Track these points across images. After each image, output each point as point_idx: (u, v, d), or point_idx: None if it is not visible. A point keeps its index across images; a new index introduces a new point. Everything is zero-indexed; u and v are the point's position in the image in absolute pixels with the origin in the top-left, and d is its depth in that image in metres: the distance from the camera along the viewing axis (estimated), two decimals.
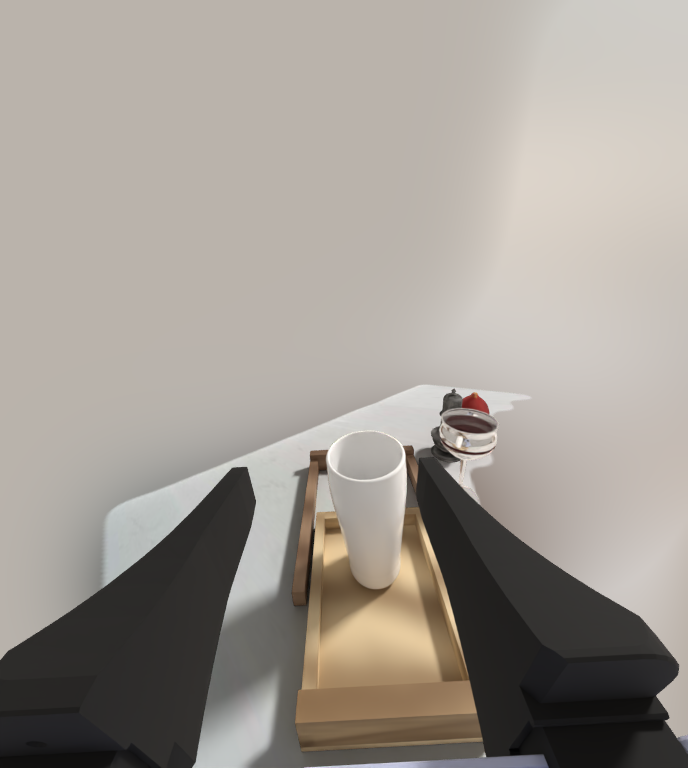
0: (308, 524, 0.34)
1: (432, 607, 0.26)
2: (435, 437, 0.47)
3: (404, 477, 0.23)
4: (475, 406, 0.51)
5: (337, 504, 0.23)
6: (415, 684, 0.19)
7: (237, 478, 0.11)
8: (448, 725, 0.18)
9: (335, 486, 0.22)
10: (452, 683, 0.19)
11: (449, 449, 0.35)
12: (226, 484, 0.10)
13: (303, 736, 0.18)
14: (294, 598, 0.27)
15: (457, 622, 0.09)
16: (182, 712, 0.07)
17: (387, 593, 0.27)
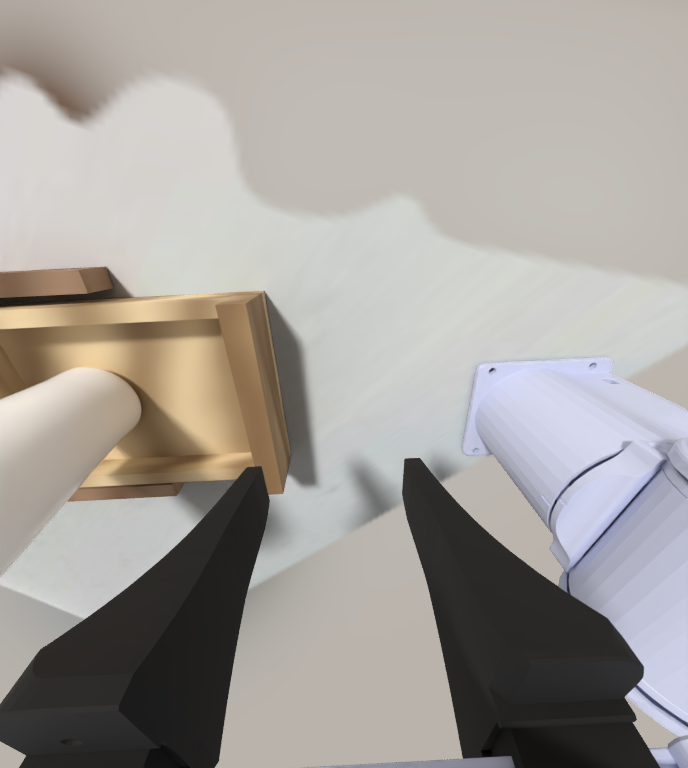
0: None
1: (140, 327, 0.18)
2: None
3: None
4: None
5: None
6: (238, 396, 0.16)
7: (253, 477, 0.11)
8: (263, 356, 0.17)
9: None
10: (229, 356, 0.15)
11: None
12: (242, 483, 0.10)
13: (286, 471, 0.21)
14: (181, 485, 0.23)
15: (438, 624, 0.09)
16: (207, 711, 0.07)
17: (141, 384, 0.19)
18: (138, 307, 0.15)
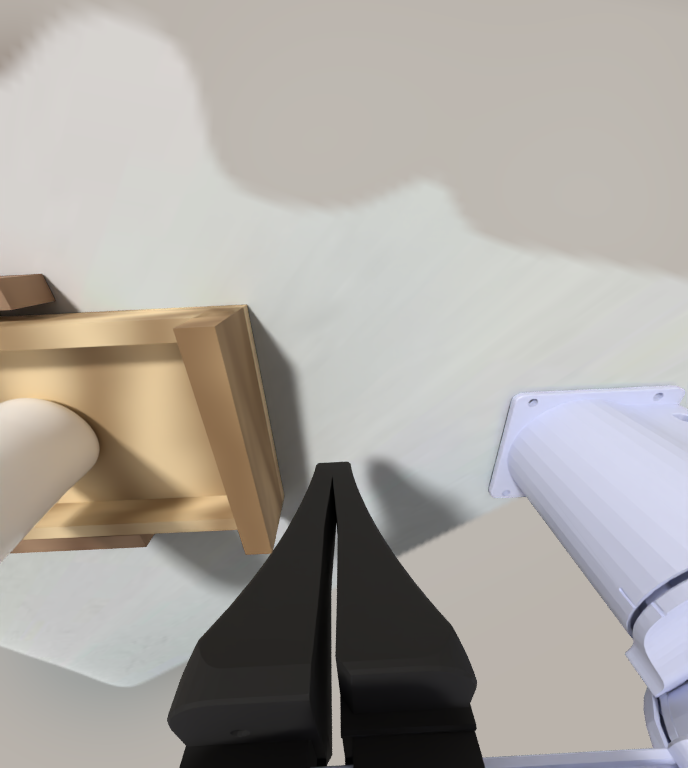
0: (22, 544, 0.18)
1: (90, 350, 0.14)
2: None
3: None
4: None
5: None
6: (210, 443, 0.12)
7: (330, 473, 0.11)
8: (244, 389, 0.13)
9: None
10: (196, 394, 0.11)
11: None
12: (323, 479, 0.10)
13: (277, 520, 0.17)
14: None
15: None
16: (327, 704, 0.07)
17: (97, 418, 0.16)
18: (77, 328, 0.12)
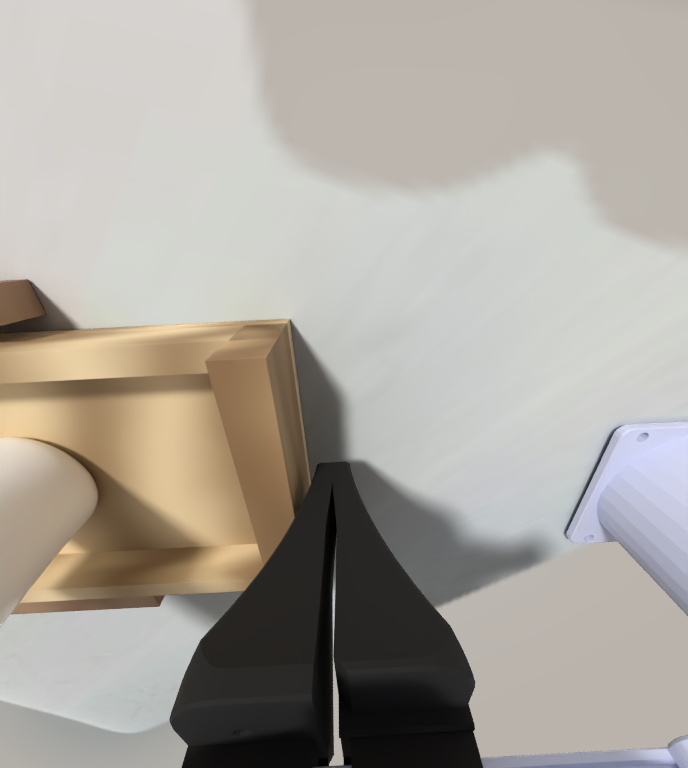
0: None
1: None
2: None
3: None
4: None
5: None
6: (247, 506, 0.09)
7: (331, 473, 0.11)
8: (290, 432, 0.10)
9: None
10: (232, 447, 0.08)
11: None
12: (324, 479, 0.10)
13: None
14: None
15: None
16: (329, 704, 0.07)
17: (94, 460, 0.12)
18: (67, 355, 0.08)
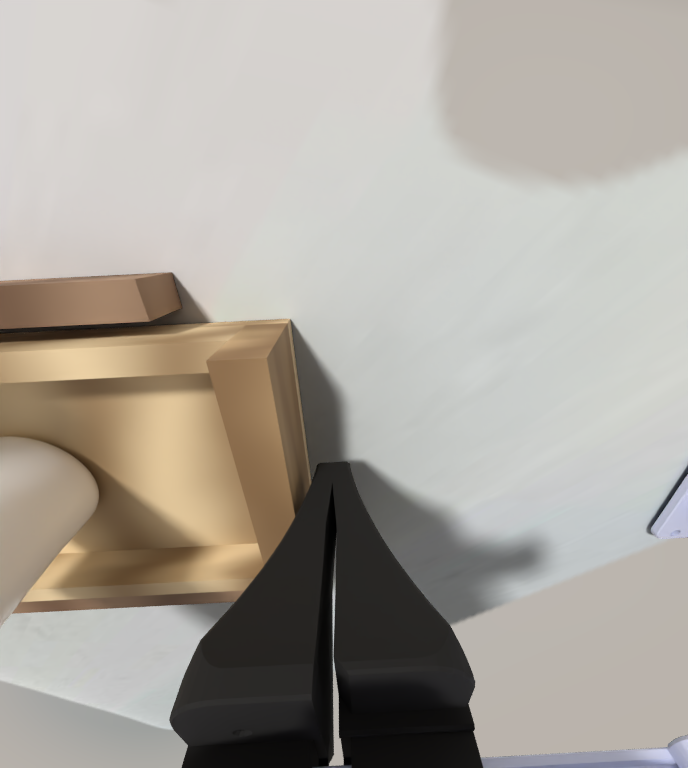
0: (102, 599, 0.15)
1: None
2: None
3: None
4: None
5: None
6: (248, 505, 0.09)
7: (331, 473, 0.11)
8: (291, 432, 0.10)
9: None
10: (233, 447, 0.08)
11: None
12: (324, 479, 0.10)
13: None
14: None
15: None
16: (329, 704, 0.07)
17: (95, 459, 0.12)
18: (69, 355, 0.08)
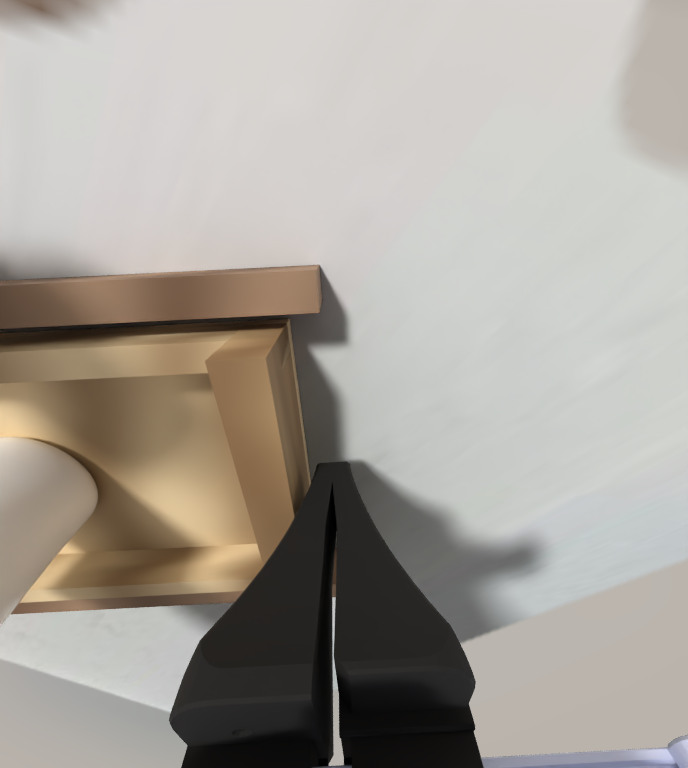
0: (197, 595, 0.15)
1: None
2: None
3: None
4: None
5: None
6: (247, 506, 0.09)
7: (331, 473, 0.11)
8: (291, 432, 0.10)
9: None
10: (232, 447, 0.08)
11: None
12: (323, 479, 0.10)
13: None
14: None
15: None
16: (329, 704, 0.07)
17: (94, 459, 0.12)
18: (68, 355, 0.08)
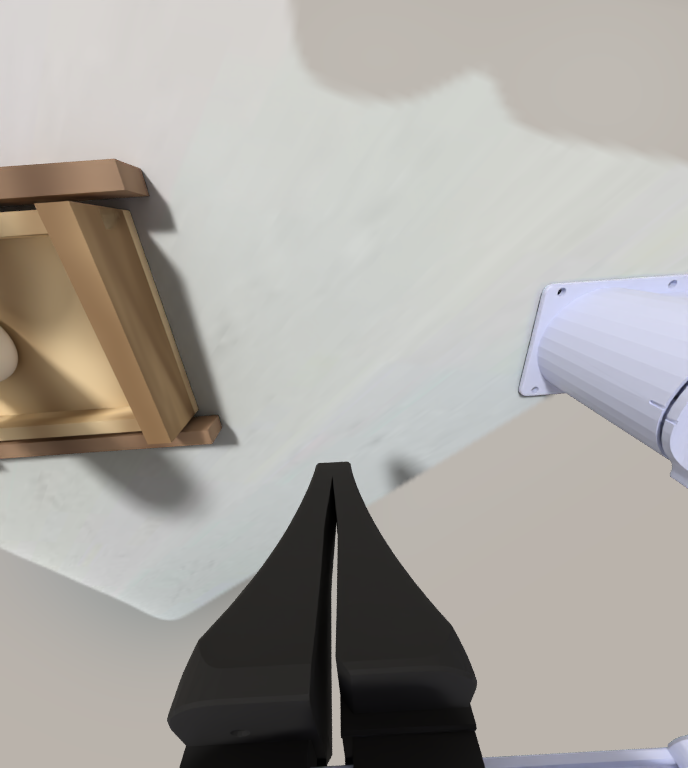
0: (102, 441, 0.20)
1: None
2: None
3: None
4: None
5: None
6: (90, 321, 0.14)
7: (330, 473, 0.11)
8: (122, 278, 0.15)
9: None
10: (67, 270, 0.13)
11: None
12: (323, 479, 0.10)
13: (183, 422, 0.19)
14: (216, 434, 0.21)
15: None
16: (327, 704, 0.07)
17: (12, 325, 0.18)
18: None
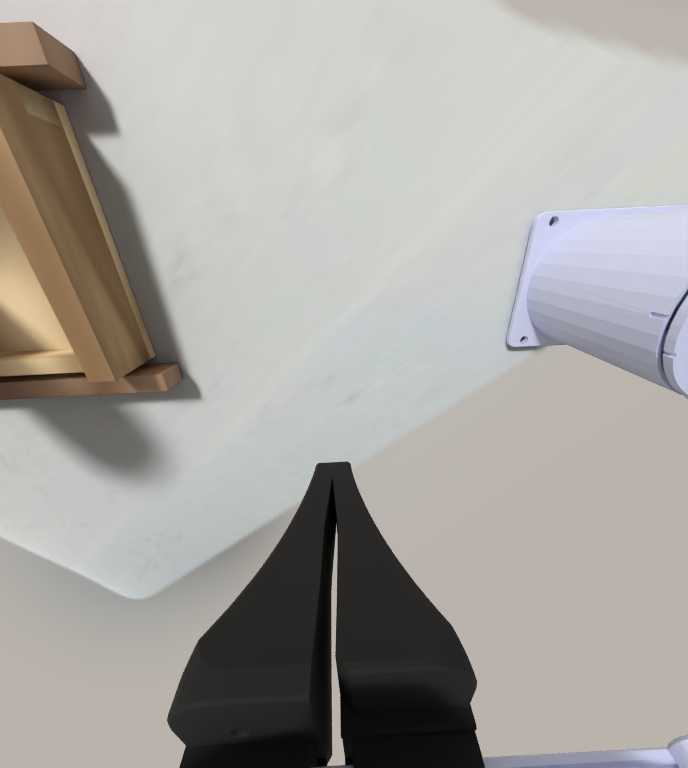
0: (45, 385, 0.18)
1: None
2: None
3: None
4: None
5: None
6: (10, 223, 0.12)
7: (330, 473, 0.11)
8: (50, 177, 0.13)
9: None
10: None
11: None
12: (323, 479, 0.10)
13: (133, 363, 0.17)
14: (174, 382, 0.19)
15: None
16: (327, 704, 0.07)
17: None
18: None
